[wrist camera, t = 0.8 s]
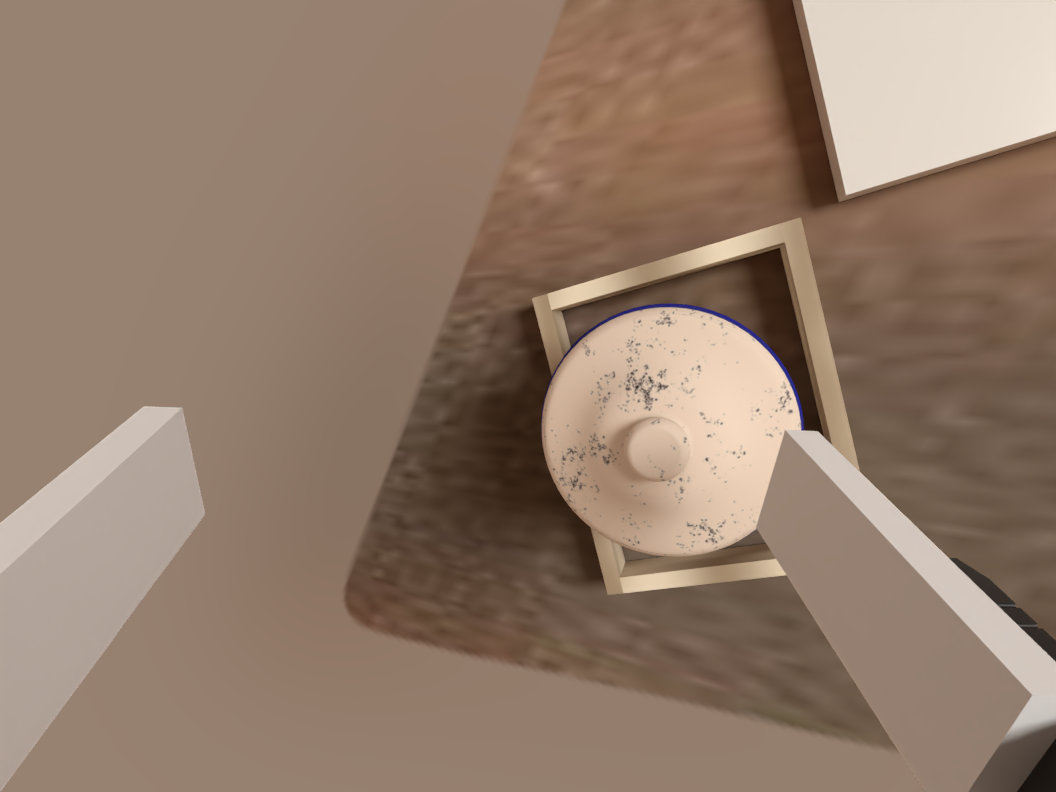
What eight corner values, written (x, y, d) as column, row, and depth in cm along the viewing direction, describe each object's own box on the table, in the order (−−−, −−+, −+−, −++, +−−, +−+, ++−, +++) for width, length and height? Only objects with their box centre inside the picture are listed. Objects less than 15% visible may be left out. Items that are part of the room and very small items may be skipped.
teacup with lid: (558, 437, 30) (472, 503, 19) (635, 277, 28) (586, 251, 17) (774, 553, 28) (814, 706, 17) (878, 387, 26) (1003, 439, 15)
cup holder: (794, 224, 26) (800, 217, 24) (869, 547, 26) (881, 564, 25) (543, 300, 30) (532, 298, 28) (614, 577, 30) (608, 595, 29)
